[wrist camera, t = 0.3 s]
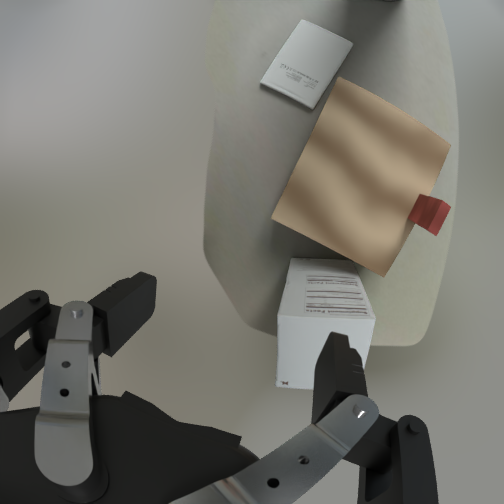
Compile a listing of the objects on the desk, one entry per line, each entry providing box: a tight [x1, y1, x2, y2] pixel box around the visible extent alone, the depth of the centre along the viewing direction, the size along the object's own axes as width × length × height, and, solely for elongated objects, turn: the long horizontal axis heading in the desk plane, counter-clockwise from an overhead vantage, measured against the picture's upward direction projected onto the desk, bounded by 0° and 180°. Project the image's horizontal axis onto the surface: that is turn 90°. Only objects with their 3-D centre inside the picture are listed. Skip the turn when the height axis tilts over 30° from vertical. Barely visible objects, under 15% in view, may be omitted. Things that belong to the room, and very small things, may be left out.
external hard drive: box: [260, 19, 353, 110], centre depth 31 cm, size 2×8×12 cm
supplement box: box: [275, 258, 376, 389], centre depth 32 cm, size 10×9×17 cm
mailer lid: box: [271, 76, 451, 277], centre depth 25 cm, size 18×15×7 cm
